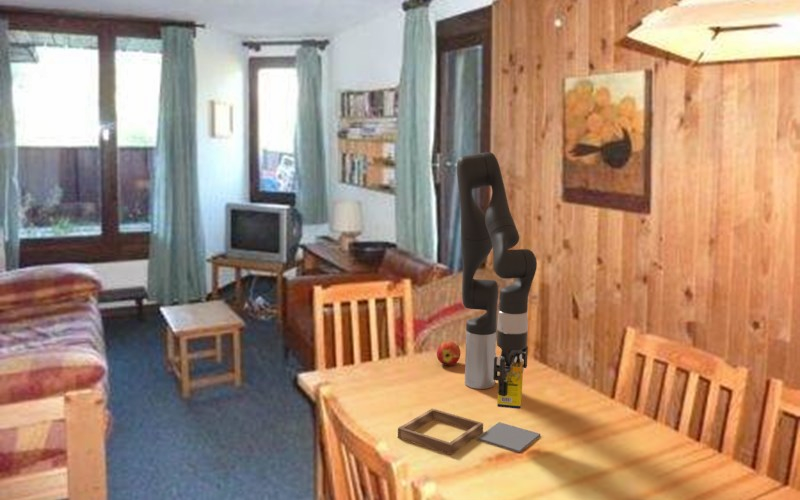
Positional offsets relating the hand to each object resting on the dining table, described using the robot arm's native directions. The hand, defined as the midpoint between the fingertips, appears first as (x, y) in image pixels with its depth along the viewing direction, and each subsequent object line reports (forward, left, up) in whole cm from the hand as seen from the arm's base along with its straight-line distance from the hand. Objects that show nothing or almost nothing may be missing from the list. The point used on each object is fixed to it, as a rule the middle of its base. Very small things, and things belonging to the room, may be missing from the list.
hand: (509, 390), depth 174 cm
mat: (0, 0, -13) cm, 13 cm away
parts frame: (+9, -15, -13) cm, 22 cm away
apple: (-39, -43, -13) cm, 59 cm away
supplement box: (0, 0, -4) cm, 4 cm away
